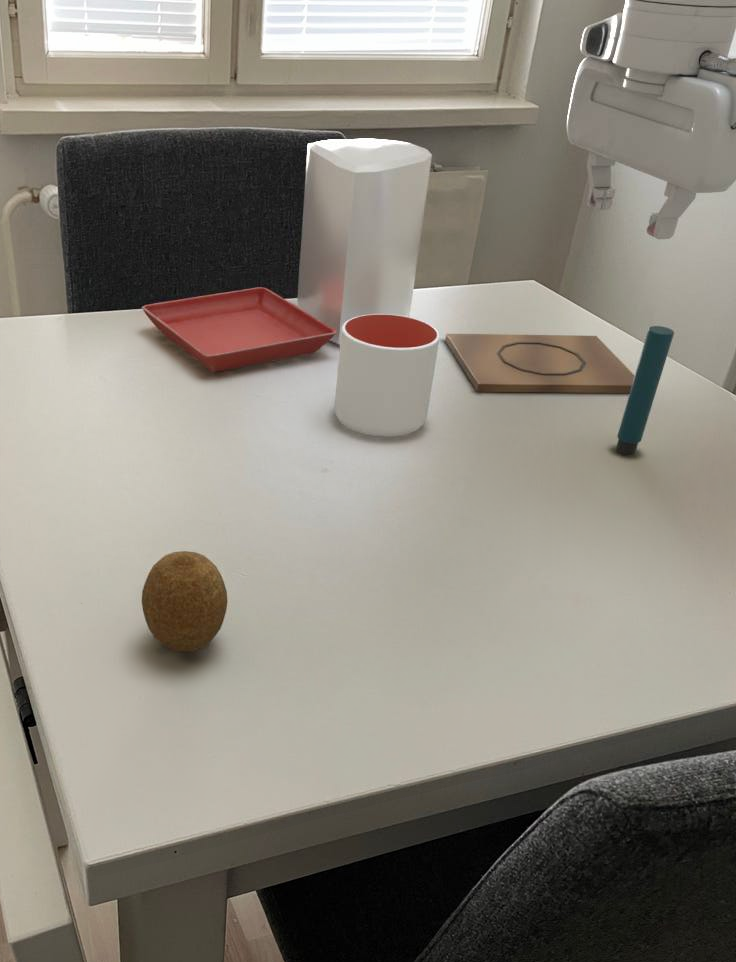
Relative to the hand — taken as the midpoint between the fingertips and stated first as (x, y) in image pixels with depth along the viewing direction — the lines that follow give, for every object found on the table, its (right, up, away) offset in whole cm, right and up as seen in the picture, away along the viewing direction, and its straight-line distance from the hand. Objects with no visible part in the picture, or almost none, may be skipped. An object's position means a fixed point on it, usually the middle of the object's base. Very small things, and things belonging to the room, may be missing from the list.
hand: (627, 221), depth 89 cm
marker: (+5, -18, +15) cm, 24 cm away
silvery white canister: (-20, +4, +42) cm, 47 cm away
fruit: (-39, -38, -15) cm, 56 cm away
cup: (-20, -14, +18) cm, 31 cm away
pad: (+2, -4, +33) cm, 33 cm away
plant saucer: (-36, -1, +34) cm, 50 cm away
